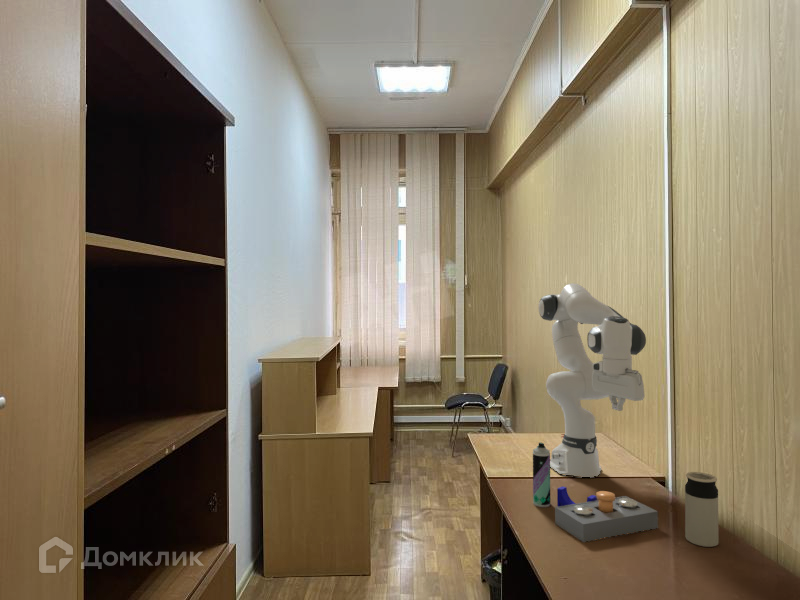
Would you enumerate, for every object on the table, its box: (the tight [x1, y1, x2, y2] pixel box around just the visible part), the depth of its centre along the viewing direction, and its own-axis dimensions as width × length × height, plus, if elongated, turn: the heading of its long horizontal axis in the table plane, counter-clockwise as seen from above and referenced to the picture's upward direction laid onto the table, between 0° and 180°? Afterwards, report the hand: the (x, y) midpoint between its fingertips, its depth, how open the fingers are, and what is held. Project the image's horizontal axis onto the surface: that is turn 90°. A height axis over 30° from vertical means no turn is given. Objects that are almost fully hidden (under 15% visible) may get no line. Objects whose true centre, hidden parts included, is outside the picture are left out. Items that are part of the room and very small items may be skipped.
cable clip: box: [556, 485, 598, 507], centre depth 171 cm, size 12×4×6 cm, turn 42°
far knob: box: [618, 497, 638, 510], centre depth 161 cm, size 5×5×6 cm
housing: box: [554, 495, 659, 543], centre depth 158 cm, size 13×26×5 cm, turn 109°
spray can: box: [532, 442, 551, 508], centre depth 176 cm, size 6×6×20 cm
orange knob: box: [595, 490, 616, 513], centre depth 158 cm, size 5×5×6 cm
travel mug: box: [684, 471, 719, 548], centre depth 148 cm, size 8×8×18 cm
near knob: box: [574, 505, 593, 517], centre depth 156 cm, size 5×5×6 cm
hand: (617, 409), depth 173 cm, fingers closed
